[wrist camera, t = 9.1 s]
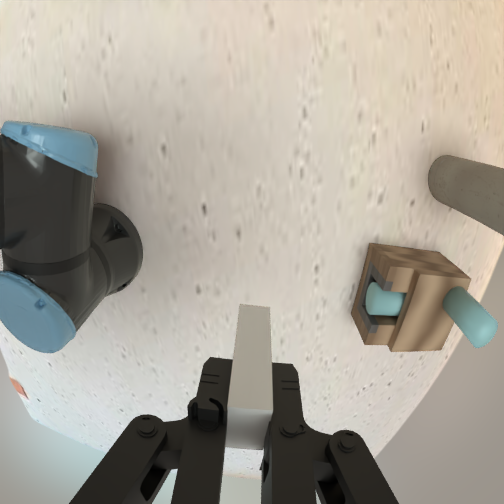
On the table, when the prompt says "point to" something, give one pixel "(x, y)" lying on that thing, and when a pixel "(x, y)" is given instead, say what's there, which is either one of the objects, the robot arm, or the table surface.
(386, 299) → the dowel peg
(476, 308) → the dowel
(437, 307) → the walnut socket block
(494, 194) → the thermos bottle
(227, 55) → the table surface
